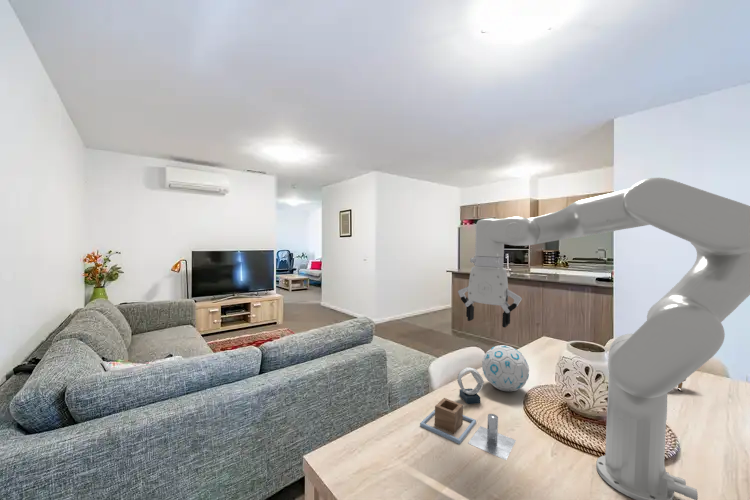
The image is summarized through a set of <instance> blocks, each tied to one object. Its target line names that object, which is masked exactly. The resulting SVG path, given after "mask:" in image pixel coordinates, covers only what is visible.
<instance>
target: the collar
mask: <svg viewBox="0 0 750 500" xmlns="http://www.w3.org/2000/svg"><path fill="white" fill-rule="evenodd" d="M434 410H435V415H434V426H435V427H438V428H440V429H442V430H443V431H446V432H449V433H451V434H453V435H454V434H456V432H457V431H458V430H459V429H460V428H461V427H462V425H463V423H464V422H463V420H464V419H463V415H464V404H462V403H460V402H459V403H458V402H457V401H454V400H451V399H448V398H446V397H443V398H442V399H441V400H440V401H439V402H438V403H437V404H435V406H434Z"/></svg>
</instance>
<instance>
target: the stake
mask: <svg viewBox="0 0 750 500" xmlns="http://www.w3.org/2000/svg"><path fill="white" fill-rule="evenodd" d="M486 427H487V428H486ZM486 427H484V426H479V427H478V429H477V430H476V432H475V433H474V434H473V435H472V437H471V439H469V440H468V442H467V444H468V445H471V446H473V447H476V448H477V449H479V450H481V451H484V452H486V453H488V454H491V455H493V456H495V457H498V458H500V459H502V460H505V461H507V460H508V457H509V456H510V453H511V451H512V449H513V448H514V445H515V444H516V441H517V440H516V439H514V438H511V437H509V436H506V435H504V434H501V433H499V432H498V428H499V416H498V415H497V414H495V413H488V414H487V426H486Z"/></svg>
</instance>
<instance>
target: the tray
mask: <svg viewBox="0 0 750 500" xmlns="http://www.w3.org/2000/svg"><path fill="white" fill-rule="evenodd" d="M434 417H435V409H434V410H433V411H432V412H431V413H429V414H428V415H427V416H426V417H425V418H424V419H423V420H421V422H420V423H419V427H421V428H423V429H426V430H428V431H429V432H432V433H435V434H436V435H439V436H440V437H443V438H445V439H447V440H450V441H451V442H454V443H457V444H458V445H461V444H462V442H463V441H464V440H465V438H466V437H467V435H468V434H469V433H470V431H471V430H472V429H473V428H474V427H475V425H476V424H477V419H474V418H472V417H469V416H467V415H464V414H463V420H464V421H467V422H469V425H468V426H467V427H466V428H465V430H464V431H463V432H462V434H461V435H460V436H459V437H457V436H454V435H451V434H449V433H447V432H445V431H444V430H441V429H438V428H435V427H433V426H432V425H429V424H427V423H428V422H429V421H430V420H431V419H432V418H434Z"/></svg>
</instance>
